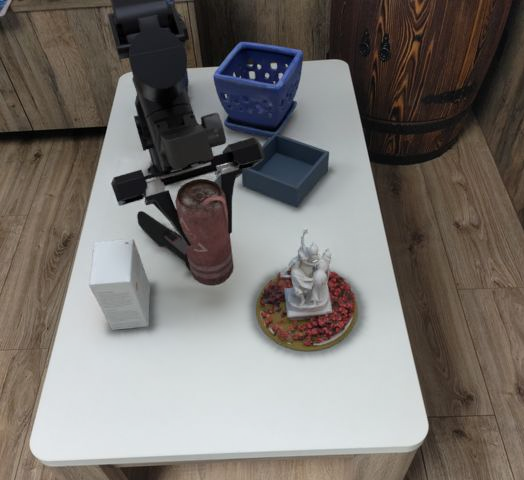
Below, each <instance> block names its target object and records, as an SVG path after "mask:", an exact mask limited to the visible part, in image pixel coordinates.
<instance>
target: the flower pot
mask: <svg viewBox="0 0 524 480" xmlns="http://www.w3.org/2000/svg"><path fill="white" fill-rule="evenodd" d="M249 60H250V61H251V62H252V65H250V64H248V61H249ZM303 62H304V52H303V50H301V49H295V48H290V47H284V46H278V45H272V44H265V43H264V44H263V43H260V42H259V43H258V42H250V41H240V42H238V44H236V46H234V47H233V49H232V50H231V51H230V52H229V53H228V55H227V56H226V57H225V59H224V60H223V61H222V63H221V64H220V65H219V66H218V67H217V69H216V70H215V71H214V73H213V82H214V87H215V90H216V91H215V92H216V94H217V97H218V100H219V102H220V105H221V107H222V108H223V110H224V112H225V113H226V115H227V116H226V118H225V120H224V121H223V125H224V127H226V129H229V130H231V131H235V132H239V133H243V134H248V135H253V136H256V137H261V138H266V139H270V138H271V137H272V136H273V135H274V134H275V133H276V134H279V135H280V133H281V131H282V130H283V128H284V127H285V125H286V124H287V122H288V120H290V118H291V116H292V114H293V113H294V111H295V110H296V108H297V105H298V101H297V100H294V99H295V97H296V94H297V92H298V89H299V86H300V81H301V76H302V70H303ZM272 63H276V68H272V65H271V64H272ZM258 65H259V66H260V68H258ZM250 72H254V78H251V77H250ZM266 74H268V77H267V76H266ZM279 74H282V76H281V77H280V75H279Z"/></svg>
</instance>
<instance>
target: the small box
mask: <svg viewBox="0 0 524 480" xmlns="http://www.w3.org/2000/svg"><path fill="white" fill-rule="evenodd" d="M88 287H89V288H90V290H91V292H92V294H93V296H94V298H95V299H96V302H97V303H98V306H99V307H100V309H101V311H102V313H103V315H104V317H105V319H106V320H107V322H108V325H109V326H110V328H111V330H113V331H114V330H125V329H135V328H146V327H149V325H150V322H149V321H150V299H151V298H150V295H151V284H150V281H149V278H148V276H147V273H146V270H145V266H144V264H143V262H142V259H141V255H140V253H139V250H138V247H137V245H136V242H135V239H134V238H126V239H115V240H103V241H95V242H93V249H92V257H91V265H90V275H89V282H88Z"/></svg>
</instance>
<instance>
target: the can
mask: <svg viewBox="0 0 524 480" xmlns="http://www.w3.org/2000/svg"><path fill="white" fill-rule="evenodd" d="M174 205H175V208H176V210H177V213H178V218H179V222H180V224H181V227H182V229H183V232H184V234H185V236H186V237H187V239H188V240H189V242H190V244H191V246H189V247H188V246H187V245H186V243H185V242H184V244H185V248H186V253H187V257H188V261H189V266H190V270H191V272H190V274H191V277H193V279H194V280H195V281H196V282H198V283H199V284H201V285H204V286H211V287H215V286H219V285H221V284H223V283H225V282H227V280H229V278H230V277H231V276H232V275H233V272H234V268H235V265H234V257H233V250H232V241H231V233H230V234H229V232H228V211H227V205H226V198H225V194H224V192H223V191H222V190H221V188H220V186H219V185H218V184H217V183H215V182H214V180H211V179H207V178H197V179H191V180H188V181H187V182H185V183H184V184H183V185H180V187H179V189H178V190H177V193H176V197H175V201H174Z"/></svg>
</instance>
